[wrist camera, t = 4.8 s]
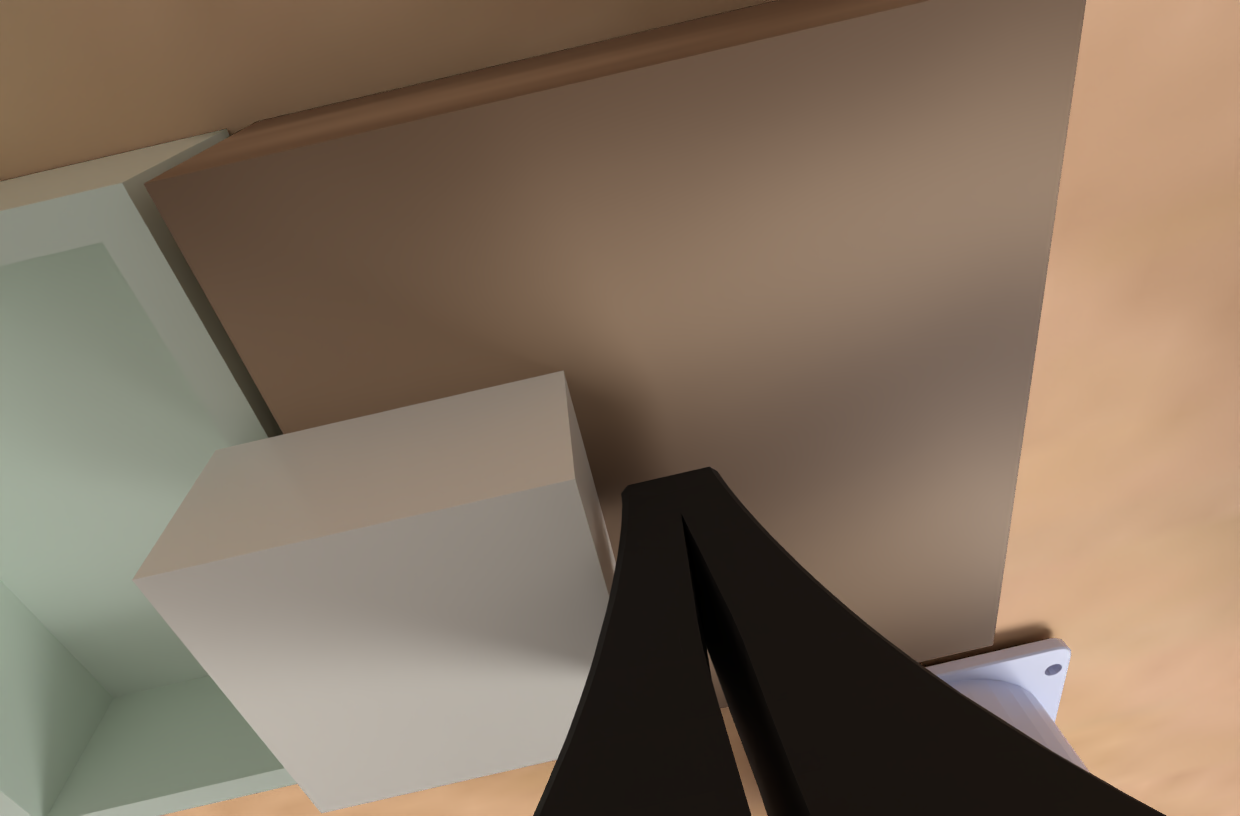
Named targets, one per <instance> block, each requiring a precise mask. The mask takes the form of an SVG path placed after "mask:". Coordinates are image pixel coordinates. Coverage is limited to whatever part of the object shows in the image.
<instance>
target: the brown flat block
mask: <svg viewBox="0 0 1240 816" xmlns="http://www.w3.org/2000/svg"><path fill="white" fill-rule="evenodd" d="M1085 5H1086V0H776V1H772V2H768V3H764V4H759V5H755V6H751V7H746V8H742V9H738V10H734V11H729V12H725V13H721V14H716V15H712V16H708V17H704V18H699V19H695V20H691V21H686V22H682V23H678V24H674V25H669V26H665V27H661V28H656V29H652V30H648V31H644V32H639V33H635V34H631V35H626V36H622V37H618V38H614V39H609V40H605V41H601V42H596V43H592V44H588V45H583V46H579V47H575V48H571V49H566V50H562V51H558V52H553V53H549V54H545V55H541V56H536V57H532V58H528V59H523V60H519V61H515V62H511V63H506V64H502V65H498V66H493V67H489V68H485V69H481V70H476V71H472V72H468V73H463V74H459V75H455V76H451V77H446V78H442V79H438V80H433V81H429V82H425V83H421V84H416V85H412V86H408V87H403V88H399V89H395V90H391V91H386V92H382V93H378V94H373V95H369V96H365V97H360V98H356V99H352V100H348V101H343V102H339V103H335V104H330V105H326V106H322V107H318V108H313V109H309V110H305V111H300V112H296V113H292V114H288V115H283V116H279V117H275V118H270V119H266V120H262V121H258V122H255V123H253V124H251V125H250V126H248V127H246V128H244V129H242V130H241V131H239V132H237V133H235V134H233V135H231V136H230V137H228V138H226V139H224V140H222V141H220V142H219V143H217V144H215V145H213V146H211V147H210V148H208V149H206V150H204V151H202V152H200V153H199V154H197V155H195V156H193V157H191V158H190V159H188V160H186V161H184V162H182V163H180V164H179V165H177V166H175V167H173V168H171V169H169V170H168V171H166V172H164V173H162V174H160V175H159V176H157V177H155V178H153V179H151V180H149V181H148V182H146V183H144V186H145V188H146V189H147V191H148V193H149V195H150V196H151V198H152V200H153V202H154V204H155V205H156V207H157V209H158V211H159V213H160V214H161V216H162V218H163V220H164V221H165V223H166V225H167V227H168V229H169V230H170V232H171V234H172V236H173V238H174V239H175V241H176V243H177V245H178V247H179V248H180V250H181V252H182V254H183V255H184V257H185V259H186V261H187V263H188V264H189V266H190V268H191V270H192V272H193V273H194V275H195V277H196V279H197V280H198V282H199V284H200V286H201V288H202V289H203V291H204V293H205V295H206V297H207V298H208V300H209V302H210V304H211V306H212V307H213V309H214V311H215V313H216V314H217V316H218V318H219V320H220V322H221V323H222V325H223V327H224V329H225V331H226V332H227V334H228V336H229V338H230V339H231V341H232V343H233V345H234V347H235V348H236V350H237V352H238V354H239V356H240V357H241V359H242V361H243V363H244V365H245V366H246V368H247V370H248V372H249V373H250V375H251V377H252V379H253V381H254V382H255V384H256V386H257V388H258V390H259V391H260V393H261V395H262V397H263V398H264V400H265V402H266V404H267V406H268V407H269V409H270V411H271V413H272V415H273V416H274V418H275V420H276V422H277V424H278V425H279V427H280V429H281V431H282V432H283V434H288V433H292V432H296V431H301V430H305V429H310V428H314V427H318V426H323V425H327V424H331V423H336V422H340V421H345V420H349V419H353V418H358V417H362V416H366V415H371V414H375V413H380V412H384V411H388V410H393V409H397V408H401V407H406V406H410V405H415V404H419V403H423V402H428V401H432V400H436V399H441V398H445V397H449V396H454V395H458V394H463V393H467V392H471V391H476V390H480V389H484V388H489V387H493V386H498V385H502V384H506V383H511V382H515V381H519V380H524V379H528V378H533V377H537V376H541V375H546V374H550V373H554V372H559V371H563V370H564V374H565V378H566V381H567V385H568V389H569V392H570V396H571V400H572V403H573V407H574V411H575V414H576V418H577V422H578V426H579V429H580V433H581V437H582V440H583V444H584V448H585V451H586V455H587V459H588V462H589V466H590V470H591V473H592V477H593V481H594V484H595V488H596V492H597V495H598V499H599V503H600V506H601V510H602V514H603V517H604V521H605V525H606V529H607V532H608V536H609V540H610V543H611V547H612V551H613V554H614V558H615V562H616V561H617V555H618V548H619V540H620V532H621V521H622V497H621V493H622V492H623V490H624V489H625V488H626V487H627V485H631V484H635V483H639V482H644V481H648V480H653V479H657V478H661V477H666V476H670V475H674V474H679V473H683V472H687V471H692V470H696V469H701V468H705V467H711V468H713V469H714V470H716V471H718V473H719V474H720V476H721V477H722V478H723V480H724V481H725V483H726V484H727V485H728V486H729V488H730V489H731V490H732V492H733V493H734V494H735V495H736V497H737V498H738V499H739V500H740V501H741V503H742V504H743V505H744V506H745V507H746V508H747V510H748V511H749V512H750V513H751V514H752V515H753V516H754V517H755V518H756V520H757V521H758V522H759V523H760V524H761V525H762V526H763V527H764V528H765V529H766V530H767V531H768V533H769V534H770V535H771V536H772V537H773V538H774V539H775V540H776V541H777V542H778V543H779V544H780V545H781V546H782V547H783V548H784V549H785V550H786V551H787V552H788V553H789V554H790V555H791V556H792V557H793V558H794V559H795V560H796V561H797V562H798V563H799V564H800V565H801V566H802V567H803V568H805V569H806V570H807V571H808V572H809V573H810V574H811V575H812V576H813V577H814V578H815V579H816V580H817V581H819V582H820V583H821V584H822V585H823V586H824V587H825V588H826V589H827V590H829V591H830V592H831V593H832V594H833V595H834V596H835V597H837V598H838V599H839V600H840V601H841V602H842V603H843V604H845V605H846V606H847V607H848V608H849V609H850V610H852V611H853V612H854V613H855V614H856V615H858V616H859V617H860V618H861V619H862V620H864V621H865V622H866V623H867V624H868V625H870V626H871V627H872V628H873V629H875V630H876V631H877V632H878V633H880V634H881V635H882V636H884V637H885V638H886V639H887V640H889V641H890V642H891V643H893V644H894V645H895V646H897V647H898V648H899V649H901V650H902V651H903V652H905V653H906V654H907V655H909V656H910V657H911V658H912V659H914V660H915V661H917V662H918V663H919V662H923V661H927V660H932V659H936V658H940V657H945V656H949V655H953V654H958V653H962V652H966V651H971V650H975V649H979V648H984V647H988V646H992V645H993V642H994V635H995V628H996V621H997V614H998V607H999V600H1000V593H1001V587H1002V580H1003V573H1004V566H1005V559H1006V552H1007V545H1008V538H1009V531H1010V524H1011V517H1012V510H1013V503H1014V497H1015V490H1016V483H1017V476H1018V469H1019V462H1020V455H1021V448H1022V441H1023V434H1024V427H1025V420H1026V413H1027V407H1028V400H1029V393H1030V386H1031V379H1032V372H1033V365H1034V358H1035V351H1036V344H1037V337H1038V330H1039V323H1040V317H1041V310H1042V303H1043V296H1044V289H1045V282H1046V275H1047V268H1048V261H1049V254H1050V247H1051V240H1052V233H1053V226H1054V220H1055V213H1056V206H1057V199H1058V192H1059V185H1060V178H1061V171H1062V164H1063V157H1064V150H1065V143H1066V136H1067V130H1068V123H1069V116H1070V109H1071V102H1072V95H1073V88H1074V81H1075V74H1076V67H1077V60H1078V53H1079V46H1080V40H1081V33H1082V26H1083V19H1084V12H1085ZM707 653H708V650H707ZM708 659H709V665H710V671H711V677H712V682H713V686H714V689H715V693H716V696H717V700H718V703H719V707H720V708H724V707H728V704H727V701H726V699H725V696H724V693H723V691H722V688H721V685H720V682H719V680H718V677H717V674H716V672H715V669H714V666H713V664H712V661H711V658H710V655H709V653H708Z"/></svg>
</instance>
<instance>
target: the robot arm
mask: <svg viewBox="0 0 1240 816" xmlns="http://www.w3.org/2000/svg"><path fill="white" fill-rule="evenodd" d="M621 497H622V521H621V532H620V540H619V548H618V555H617V561H616V566H615V571H614V576H613V581H612V586H611V591H610V596H609V601H608V605H607V609H606V613H605V617H604V621H603V624H602V628H601V632H600V635H599V639H598V643H597V646H596V650H595V654H594V658H593V661H592V664H591V667H590V671H589V674H588V677H587V680H586V683H585V686H584V689H583V692H582V695H581V698H580V701H579V704H578V707H577V709H576V712H575V715H574V718H573V720H572V723H571V726H570V729H569V731H568V734H567V736H566V739H565V742H564V744H563V746H562V749H561V751H560V754H559V756H558V759H557V761H556V763H555V766H554V768H553V771H552V773H551V776H550V778H549V780H548V783H547V785H546V788H545V790H544V792H543V795H542V797H541V799H540V801H539V804H538V806H537V808H536V810H535V813H534V815H533V816H751V813H750V809H749V806H748V803H747V799H746V796H745V793H744V789H743V786H742V782H741V779H740V775H739V772H738V769H737V765H736V762H735V758H734V755H733V751H732V748H731V745H730V741H729V738H728V734H727V731H726V727H725V724H724V720H723V717H722V714H721V710H720V707H719V703H718V700H717V696H716V693H715V689H714V686H713V682H712V677H711V671H710V665H709V659H708V653H709V655H710V658H711V661H712V664H713V666H714V669H715V672H716V674H717V677H718V680H719V682H720V685H721V688H722V691H723V693H724V696H725V699H726V701H727V704H728V707H729V709H730V712H731V715H732V718H733V720H734V723H735V726H736V728H737V731H738V734H739V736H740V739H741V742H742V744H743V747H744V750H745V752H746V755H747V758H748V761H749V763H750V766H751V769H752V771H753V774H754V777H755V779H756V782H757V785H758V787H759V791H760V794H761V797H762V800H763V803H764V806H765V809H766V812H767V815H768V816H1166V815H1164V814H1162V813H1160V812H1159V811H1157V810H1155V809H1153V808H1151V807H1149V806H1148V805H1146V804H1144V803H1142V802H1140V801H1138V800H1136V799H1135V798H1133V797H1131V796H1129V795H1127V794H1125V793H1124V792H1122V791H1120V790H1118V789H1117V788H1115V787H1113V786H1112V785H1110V784H1108V783H1106V782H1105V781H1103V780H1101V779H1099V778H1098V777H1096V776H1094V775H1093V774H1091V773H1090V772H1089V770H1088V769H1087V768H1086V766H1085V765H1084V763H1083V762H1082V761H1081V759H1080V758H1079V756H1078V755H1077V754H1076V752H1075V751H1074V749H1073V748H1072V747H1071V745H1070V744H1069V742H1068V741H1067V740H1066V738H1065V737H1064V735H1063V734H1062V733H1061V731H1060V730H1059V728H1058V727H1057V726H1056V724H1055V719H1056V715H1057V711H1058V707H1059V703H1060V698H1061V694H1062V690H1063V686H1064V682H1065V678H1066V673H1067V669H1068V665H1069V661H1070V657H1071V650H1070V649H1069V647H1068V646H1067V645H1066V644H1065V642H1064V641H1063V640H1062V639H1058V638H1050V639H1045V640H1041V641H1036V642H1032V643H1028V644H1023V645H1019V646H1015V647H1011V648H1006V649H1002V650H998V651H993V652H989V653H985V654H980V655H976V656H972V657H967V658H963V659H959V660H954V661H950V662H946V663H941V664H937V665H933V666H928V667H924V666H922V665H921V664H919V663H918V662H917V661H915V660H914V659H912V658H911V657H910V656H909V655H907V654H906V653H905V652H903V651H902V650H901V649H899V648H898V647H897V646H895V645H894V644H893V643H891V642H890V641H889V640H887V639H886V638H885V637H884V636H882V635H881V634H880V633H878V632H877V631H876V630H875V629H873V628H872V627H871V626H870V625H868V624H867V623H866V622H865V621H864V620H862V619H861V618H860V617H859V616H858V615H856V614H855V613H854V612H853V611H852V610H850V609H849V608H848V607H847V606H846V605H845V604H843V603H842V602H841V601H840V600H839V599H838V598H837V597H835V596H834V595H833V594H832V593H831V592H830V591H829V590H827V589H826V588H825V587H824V586H823V585H822V584H821V583H820V582H819V581H817V580H816V579H815V578H814V577H813V576H812V575H811V574H810V573H809V572H808V571H807V570H806V569H805V568H803V567H802V566H801V565H800V564H799V563H798V562H797V561H796V560H795V559H794V558H793V557H792V556H791V555H790V554H789V553H788V552H787V551H786V550H785V549H784V548H783V547H782V546H781V545H780V544H779V543H778V542H777V541H776V540H775V539H774V538H773V537H772V536H771V535H770V534H769V533H768V531H767V530H766V529H765V528H764V527H763V526H762V525H761V524H760V523H759V522H758V521H757V520H756V518H755V517H754V516H753V515H752V514H751V513H750V512H749V511H748V510H747V508H746V507H745V506H744V505H743V504H742V503H741V501H740V500H739V499H738V498H737V497H736V495H735V494H734V493H733V492H732V490H731V489H730V488H729V486H728V485H727V484H726V483H725V481H724V480H723V478H722V477H721V476H720V474H719V473H718V471H716V470H714V469H713V468H711V467H705V468H701V469H696V470H692V471H687V472H683V473H679V474H674V475H670V476H666V477H661V478H657V479H653V480H648V481H644V482H639V483H635V484H631V485H627V487H626V488H625V489H624V490H623V492H622V493H621ZM707 650H708V653H707Z"/></svg>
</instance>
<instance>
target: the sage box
mask: <svg viewBox="0 0 1240 816" xmlns="http://www.w3.org/2000/svg"><path fill="white" fill-rule="evenodd" d="M228 137H230V135H229V133H228V131H227V129H223V130H219V131H215V132H210V133H206V134H202V135H198V136H193V137H189V138H185V139H180V140H176V141H172V142H168V143H163V144H159V145H155V146H150V147H146V148H142V149H138V150H133V151H129V152H125V153H120V154H116V155H112V156H107V157H103V158H99V159H95V160H90V161H86V162H82V163H77V164H73V165H69V166H65V167H60V168H56V169H52V170H47V171H43V172H39V173H35V174H30V175H26V176H22V177H17V178H13V179H9V180H5V181H0V816H160V815H164V814H169V813H173V812H177V811H182V810H186V809H190V808H195V807H199V806H203V805H208V804H212V803H216V802H221V801H225V800H229V799H234V798H238V797H242V796H247V795H251V794H255V793H260V792H264V791H268V790H273V789H277V788H281V787H286V786H290V785H294V784H297V783H296V781H295V780H294V779H293V778H292V777H291V775H290V774H289V773H288V772H287V770H286V769H285V768H284V767H283V765H282V764H281V763H280V762H279V761H278V759H277V758H276V757H275V756H274V754H273V753H272V752H271V751H270V749H269V748H268V747H267V746H266V744H265V743H264V742H263V741H262V740H261V738H260V737H259V736H258V735H257V733H256V732H255V731H254V730H253V728H252V727H251V726H250V725H249V724H248V722H247V721H246V720H245V719H244V717H243V716H242V715H241V714H240V712H239V711H238V710H237V709H236V708H235V706H234V705H233V704H232V703H231V701H230V700H229V699H228V698H227V696H226V695H225V694H224V693H223V692H222V690H221V689H220V688H219V687H218V685H217V684H216V683H215V682H214V680H213V679H212V678H211V677H210V676H209V674H208V673H207V672H206V671H205V669H204V668H203V667H202V666H201V664H200V663H199V662H198V661H197V660H196V658H195V657H194V656H193V655H192V653H191V652H190V651H189V650H188V648H187V647H186V646H185V645H184V644H183V642H182V641H181V640H180V639H179V637H178V636H177V635H176V634H175V632H174V631H173V630H172V629H171V628H170V626H169V625H168V624H167V623H166V621H165V620H164V619H163V618H162V616H161V615H160V614H159V613H158V612H157V610H156V609H155V608H154V607H153V605H152V604H151V603H150V602H149V600H148V599H147V598H146V597H145V596H144V594H143V593H142V592H141V591H140V589H139V588H138V587H137V586H136V584H135V583H134V582H133V581H132V579H133V578H134V576H135V575H136V573H137V571H138V570H139V568H140V567H141V565H142V564H143V562H144V561H145V559H146V558H147V556H148V554H149V553H150V551H151V550H152V548H153V547H154V545H155V544H156V542H157V540H158V539H159V537H160V536H161V534H162V533H163V531H164V530H165V528H166V526H167V525H168V523H169V522H170V520H171V519H172V517H173V516H174V514H175V512H176V511H177V509H178V508H179V506H180V505H181V503H182V502H183V500H184V499H185V497H186V495H187V494H188V492H189V491H190V489H191V488H192V486H193V485H194V483H195V481H196V480H197V478H198V477H199V475H200V474H201V472H202V471H203V469H204V467H205V466H206V464H207V463H208V461H209V460H210V458H211V457H212V455H213V453H214V452H215V450H218V449H222V448H226V447H231V446H235V445H240V444H244V443H248V442H253V441H257V440H261V439H266V438H270V437H275V436H279V435H283V432H282V431H281V429H280V427H279V425H278V424H277V422H276V420H275V418H274V416H273V415H272V413H271V411H270V409H269V407H268V406H267V404H266V402H265V400H264V398H263V397H262V395H261V393H260V391H259V390H258V388H257V386H256V384H255V382H254V381H253V379H252V377H251V375H250V373H249V372H248V370H247V368H246V366H245V365H244V363H243V361H242V359H241V357H240V356H239V354H238V352H237V350H236V348H235V347H234V345H233V343H232V341H231V339H230V338H229V336H228V334H227V332H226V331H225V329H224V327H223V325H222V323H221V322H220V320H219V318H218V316H217V314H216V313H215V311H214V309H213V307H212V306H211V304H210V302H209V300H208V298H207V297H206V295H205V293H204V291H203V289H202V288H201V286H200V284H199V282H198V280H197V279H196V277H195V275H194V273H193V272H192V270H191V268H190V266H189V264H188V263H187V261H186V259H185V257H184V255H183V254H182V252H181V250H180V248H179V247H178V245H177V243H176V241H175V239H174V238H173V236H172V234H171V232H170V230H169V229H168V227H167V225H166V223H165V221H164V220H163V218H162V216H161V214H160V213H159V211H158V209H157V207H156V205H155V204H154V202H153V200H152V198H151V196H150V195H149V193H148V191H147V189H146V188H145V186H144V183H146V182H148V181H149V180H151V179H153V178H155V177H157V176H159V175H160V174H162V173H164V172H166V171H168V170H169V169H171V168H173V167H175V166H177V165H179V164H180V163H182V162H184V161H186V160H188V159H190V158H191V157H193V156H195V155H197V154H199V153H200V152H202V151H204V150H206V149H208V148H210V147H211V146H213V145H215V144H217V143H219V142H220V141H222V140H224V139H226V138H228Z"/></svg>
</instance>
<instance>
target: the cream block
mask: <svg viewBox="0 0 1240 816" xmlns="http://www.w3.org/2000/svg"><path fill="white" fill-rule="evenodd" d="M615 566H616V562H615V558H614V554H613V551H612V547H611V543H610V540H609V536H608V532H607V529H606V525H605V521H604V517H603V514H602V510H601V506H600V503H599V499H598V495H597V492H596V488H595V484H594V481H593V477H592V473H591V470H590V466H589V462H588V459H587V455H586V451H585V448H584V444H583V440H582V437H581V433H580V429H579V426H578V422H577V418H576V414H575V411H574V407H573V403H572V400H571V396H570V392H569V389H568V385H567V381H566V378H565V374H564V370H563V371H559V372H554V373H550V374H546V375H541V376H537V377H533V378H528V379H524V380H519V381H515V382H511V383H506V384H502V385H498V386H493V387H489V388H484V389H480V390H476V391H471V392H467V393H463V394H458V395H454V396H449V397H445V398H441V399H436V400H432V401H428V402H423V403H419V404H415V405H410V406H406V407H401V408H397V409H393V410H388V411H384V412H380V413H375V414H371V415H366V416H362V417H358V418H353V419H349V420H345V421H340V422H336V423H331V424H327V425H323V426H318V427H314V428H310V429H305V430H301V431H296V432H292V433H288V434H283V435H279V436H275V437H270V438H266V439H261V440H257V441H253V442H248V443H244V444H240V445H235V446H231V447H226V448H222V449H218V450H215V452H214V453H213V455H212V457H211V458H210V460H209V461H208V463H207V464H206V466H205V467H204V469H203V471H202V472H201V474H200V475H199V477H198V478H197V480H196V481H195V483H194V485H193V486H192V488H191V489H190V491H189V492H188V494H187V495H186V497H185V499H184V500H183V502H182V503H181V505H180V506H179V508H178V509H177V511H176V512H175V514H174V516H173V517H172V519H171V520H170V522H169V523H168V525H167V526H166V528H165V530H164V531H163V533H162V534H161V536H160V537H159V539H158V540H157V542H156V544H155V545H154V547H153V548H152V550H151V551H150V553H149V554H148V556H147V558H146V559H145V561H144V562H143V564H142V565H141V567H140V568H139V570H138V571H137V573H136V575H135V576H134V578H133V579H132V581H133V582H134V583H135V584H136V586H137V587H138V588H139V589H140V591H141V592H142V593H143V594H144V596H145V597H146V598H147V599H148V600H149V602H150V603H151V604H152V605H153V607H154V608H155V609H156V610H157V612H158V613H159V614H160V615H161V616H162V618H163V619H164V620H165V621H166V623H167V624H168V625H169V626H170V628H171V629H172V630H173V631H174V632H175V634H176V635H177V636H178V637H179V639H180V640H181V641H182V642H183V644H184V645H185V646H186V647H187V648H188V650H189V651H190V652H191V653H192V655H193V656H194V657H195V658H196V660H197V661H198V662H199V663H200V664H201V666H202V667H203V668H204V669H205V671H206V672H207V673H208V674H209V676H210V677H211V678H212V679H213V680H214V682H215V683H216V684H217V685H218V687H219V688H220V689H221V690H222V692H223V693H224V694H225V695H226V696H227V698H228V699H229V700H230V701H231V703H232V704H233V705H234V706H235V708H236V709H237V710H238V711H239V712H240V714H241V715H242V716H243V717H244V719H245V720H246V721H247V722H248V724H249V725H250V726H251V727H252V728H253V730H254V731H255V732H256V733H257V735H258V736H259V737H260V738H261V740H262V741H263V742H264V743H265V744H266V746H267V747H268V748H269V749H270V751H271V752H272V753H273V754H274V756H275V757H276V758H277V759H278V761H279V762H280V763H281V764H282V765H283V767H284V768H285V769H286V770H287V772H288V773H289V774H290V775H291V777H292V778H293V779H294V780H295V781H296V783H297V784H298V785H299V786H300V788H301V789H302V790H303V791H304V793H305V794H306V795H307V796H308V797H309V799H310V800H311V801H312V802H313V804H314V805H315V806H316V807H317V809H318V810H319V811H320V812H321V813H325V812H330V811H334V810H338V809H343V808H347V807H352V806H356V805H360V804H365V803H369V802H373V801H378V800H382V799H387V798H391V797H395V796H400V795H404V794H408V793H413V792H417V791H422V790H426V789H430V788H435V787H439V786H443V785H448V784H452V783H457V782H461V781H465V780H470V779H474V778H479V777H483V776H487V775H492V774H496V773H500V772H505V771H509V770H514V769H518V768H522V767H527V766H531V765H535V764H540V763H544V762H549V761H553V760H557V759H558V756H559V754H560V751H561V749H562V746H563V744H564V742H565V739H566V736H567V734H568V731H569V729H570V726H571V723H572V720H573V718H574V715H575V712H576V709H577V707H578V704H579V701H580V698H581V695H582V692H583V689H584V686H585V683H586V680H587V677H588V674H589V671H590V667H591V664H592V661H593V658H594V654H595V650H596V646H597V643H598V639H599V635H600V632H601V628H602V624H603V621H604V617H605V613H606V609H607V605H608V601H609V596H610V591H611V586H612V581H613V576H614V571H615Z"/></svg>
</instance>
